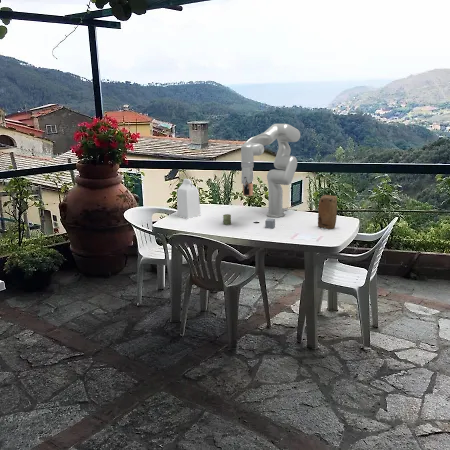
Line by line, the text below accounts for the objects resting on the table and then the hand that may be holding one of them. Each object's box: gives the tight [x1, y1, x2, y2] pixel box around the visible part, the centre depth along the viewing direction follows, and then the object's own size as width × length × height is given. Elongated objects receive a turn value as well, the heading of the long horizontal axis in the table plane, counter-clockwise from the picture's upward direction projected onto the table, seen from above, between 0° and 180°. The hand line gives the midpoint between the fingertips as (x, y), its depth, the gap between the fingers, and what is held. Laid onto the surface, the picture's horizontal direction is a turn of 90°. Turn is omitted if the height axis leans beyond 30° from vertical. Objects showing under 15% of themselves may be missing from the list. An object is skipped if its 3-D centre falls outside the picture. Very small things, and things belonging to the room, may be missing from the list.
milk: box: [176, 178, 202, 220], centre depth 313 cm, size 12×12×26 cm
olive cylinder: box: [222, 213, 232, 226], centre depth 293 cm, size 5×5×6 cm
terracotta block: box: [242, 182, 254, 197], centre depth 282 cm, size 5×5×7 cm
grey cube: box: [264, 218, 276, 230], centre depth 283 cm, size 5×5×5 cm
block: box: [317, 194, 338, 230], centre depth 277 cm, size 11×8×20 cm
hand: (248, 193), depth 283 cm, fingers closed on terracotta block, 5 cm apart
